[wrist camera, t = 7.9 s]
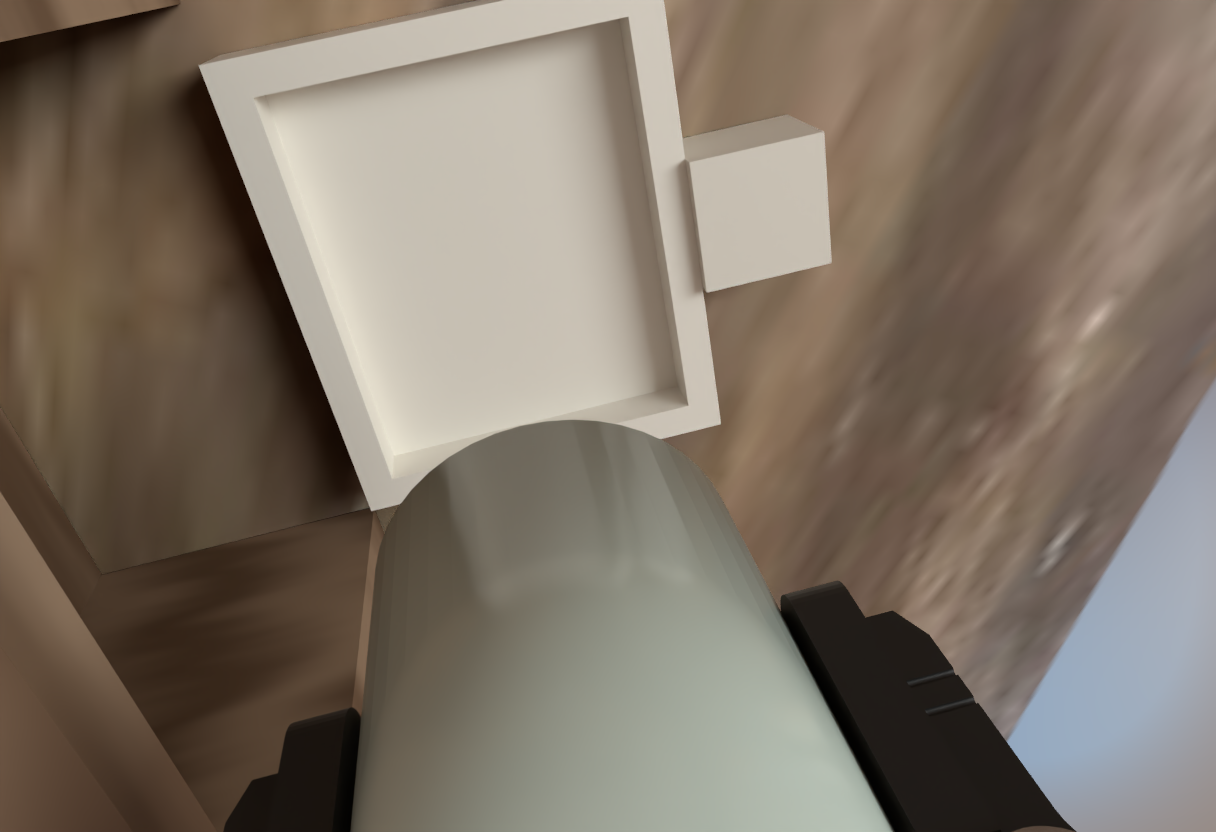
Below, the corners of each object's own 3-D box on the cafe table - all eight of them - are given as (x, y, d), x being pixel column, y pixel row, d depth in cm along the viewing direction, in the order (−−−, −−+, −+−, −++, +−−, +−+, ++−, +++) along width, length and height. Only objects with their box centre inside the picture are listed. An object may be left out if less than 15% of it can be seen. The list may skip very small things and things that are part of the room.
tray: (773, -63, 25) (812, -65, 23) (806, 365, 32) (839, 402, 29) (219, 55, 24) (193, 67, 22) (375, 471, 31) (370, 519, 28)
